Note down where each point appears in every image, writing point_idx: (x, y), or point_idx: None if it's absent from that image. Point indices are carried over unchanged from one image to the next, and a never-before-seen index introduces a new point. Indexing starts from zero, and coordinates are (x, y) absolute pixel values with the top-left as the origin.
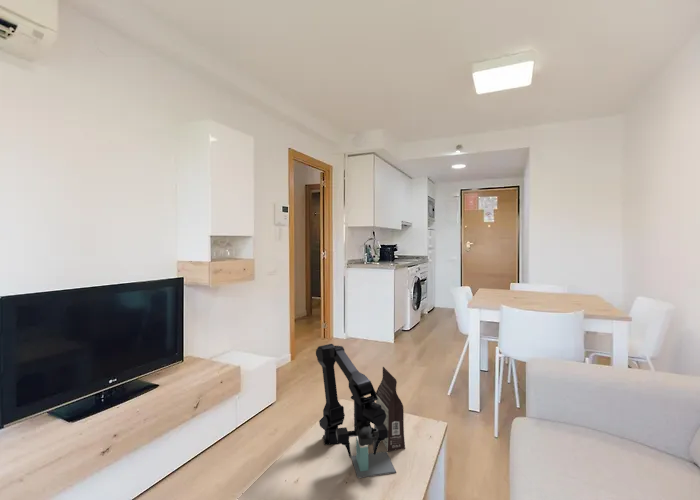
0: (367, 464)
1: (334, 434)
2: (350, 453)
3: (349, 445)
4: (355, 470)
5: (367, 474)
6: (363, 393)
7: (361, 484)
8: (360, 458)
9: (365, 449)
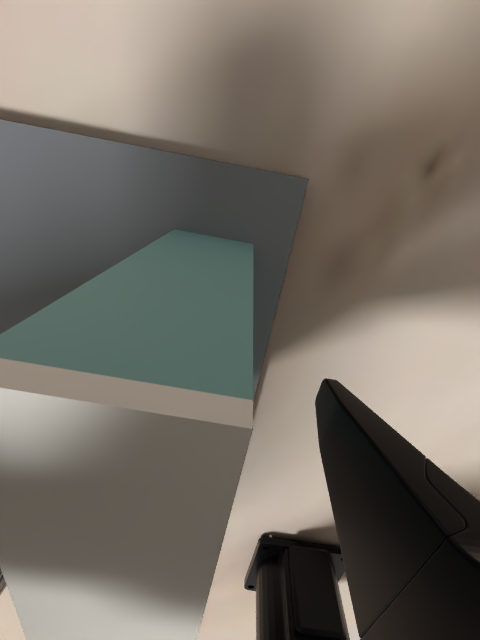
0: (166, 241)
1: (306, 620)
2: (349, 410)
3: (474, 557)
4: (280, 285)
5: (203, 169)
6: None
7: (313, 60)
8: (246, 284)
9: (102, 332)
